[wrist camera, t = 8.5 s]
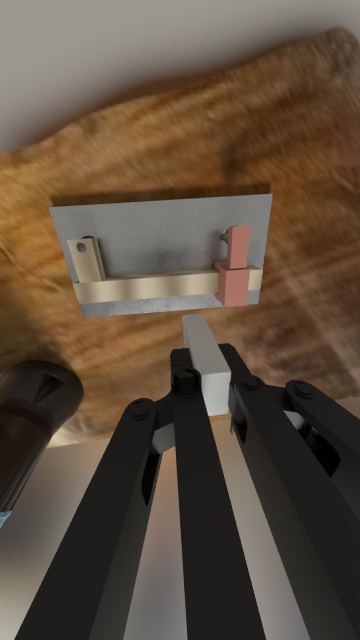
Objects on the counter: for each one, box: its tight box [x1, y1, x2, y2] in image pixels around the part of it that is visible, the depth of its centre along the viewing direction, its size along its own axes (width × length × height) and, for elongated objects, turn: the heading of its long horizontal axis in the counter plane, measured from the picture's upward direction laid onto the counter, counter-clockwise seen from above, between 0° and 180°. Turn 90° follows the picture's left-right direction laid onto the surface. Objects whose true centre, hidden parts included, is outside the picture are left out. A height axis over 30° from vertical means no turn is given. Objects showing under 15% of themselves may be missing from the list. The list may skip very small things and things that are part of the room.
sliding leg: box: [214, 225, 250, 307], centre depth 25 cm, size 3×10×6 cm, turn 3°
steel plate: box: [49, 194, 273, 318], centre depth 28 cm, size 30×16×1 cm, turn 93°
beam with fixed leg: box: [67, 238, 263, 304], centre depth 26 cm, size 27×8×3 cm, turn 93°
